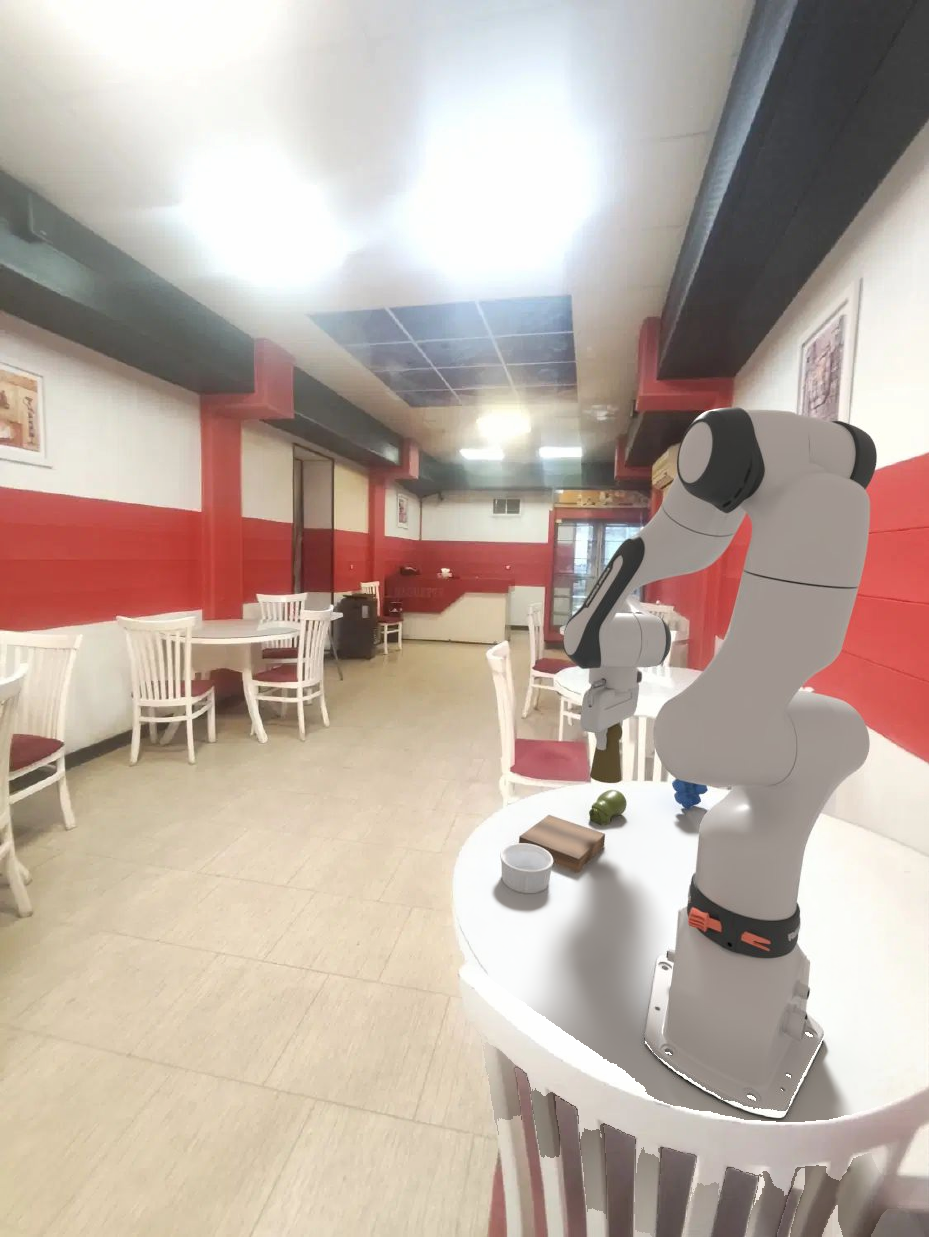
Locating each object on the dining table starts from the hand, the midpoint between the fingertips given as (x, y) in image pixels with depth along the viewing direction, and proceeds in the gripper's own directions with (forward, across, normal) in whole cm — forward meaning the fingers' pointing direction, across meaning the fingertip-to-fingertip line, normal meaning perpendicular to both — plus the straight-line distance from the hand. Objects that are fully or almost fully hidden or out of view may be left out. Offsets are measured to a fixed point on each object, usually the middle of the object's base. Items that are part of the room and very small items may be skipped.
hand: (607, 745), depth 106 cm
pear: (+19, +9, +3) cm, 21 cm away
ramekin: (+19, -23, +4) cm, 30 cm away
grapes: (+19, +26, -10) cm, 34 cm away
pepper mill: (+7, 0, 0) cm, 7 cm away
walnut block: (+19, -9, +4) cm, 21 cm away
